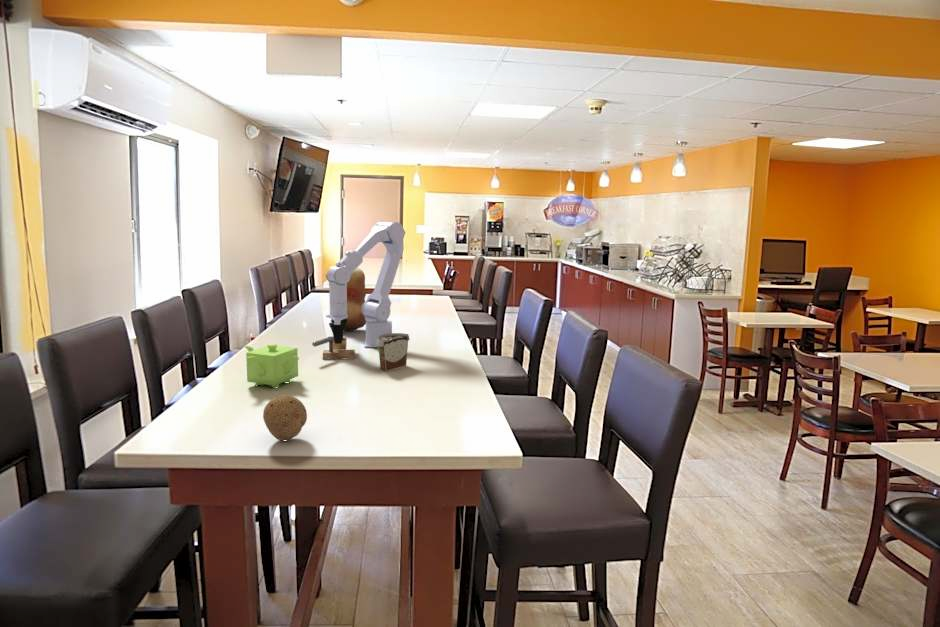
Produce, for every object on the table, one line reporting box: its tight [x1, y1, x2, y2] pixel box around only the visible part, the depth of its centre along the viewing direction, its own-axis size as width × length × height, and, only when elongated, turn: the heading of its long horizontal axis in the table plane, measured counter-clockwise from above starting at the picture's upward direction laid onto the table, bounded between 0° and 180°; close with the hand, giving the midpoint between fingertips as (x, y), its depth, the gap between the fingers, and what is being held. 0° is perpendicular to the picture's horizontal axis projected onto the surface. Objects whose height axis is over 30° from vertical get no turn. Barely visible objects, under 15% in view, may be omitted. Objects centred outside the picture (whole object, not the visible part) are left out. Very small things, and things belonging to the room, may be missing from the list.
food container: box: [376, 332, 410, 373], centre depth 197 cm, size 12×6×10 cm, turn 145°
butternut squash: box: [344, 267, 367, 332], centre depth 247 cm, size 14×13×25 cm
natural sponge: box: [262, 394, 308, 441], centre depth 136 cm, size 9×9×10 cm
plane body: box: [321, 341, 356, 360], centre depth 208 cm, size 10×5×5 cm, turn 98°
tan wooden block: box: [333, 337, 348, 350], centre depth 216 cm, size 5×5×3 cm
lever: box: [312, 335, 334, 348], centre depth 203 cm, size 10×2×2 cm, turn 157°
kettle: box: [243, 343, 300, 389], centre depth 177 cm, size 15×14×11 cm
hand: (338, 341), depth 216 cm, fingers closed on tan wooden block, 5 cm apart
